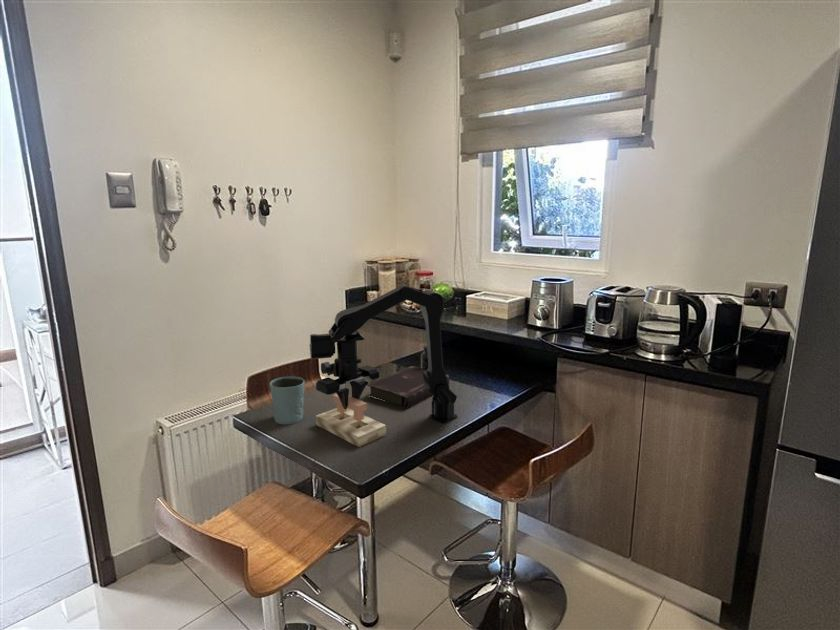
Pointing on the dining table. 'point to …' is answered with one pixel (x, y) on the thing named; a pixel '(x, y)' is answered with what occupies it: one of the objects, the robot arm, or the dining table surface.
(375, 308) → the robot arm
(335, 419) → the cream two-hole slab
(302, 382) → the teal cup
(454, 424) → the dining table surface
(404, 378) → the diary
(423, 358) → the supplement bottle
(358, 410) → the pink rectangular block
